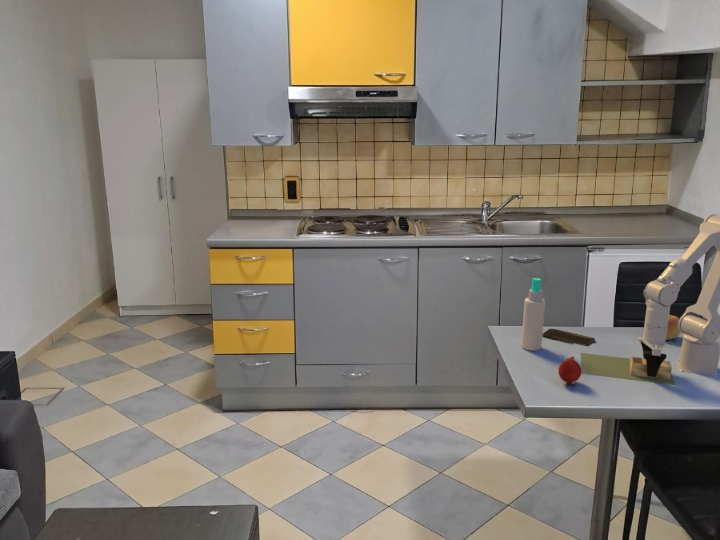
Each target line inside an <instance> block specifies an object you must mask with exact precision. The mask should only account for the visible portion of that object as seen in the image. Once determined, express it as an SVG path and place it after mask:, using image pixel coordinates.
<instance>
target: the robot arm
mask: <svg viewBox="0 0 720 540" xmlns="http://www.w3.org/2000/svg"><path fill="white" fill-rule="evenodd" d="M713 247H715V249H716V251H717V252H716V254H715V257H714V259H713V262H712V264H711V267H710V268H709V272H708V274H707V276H706V279H705V280H704V281H705V282H704V284H703V286H702V289H701V291H700V294H699V295H698V299H697V301H696V303H695V304H693V305H690V306H688V307H686V309H685V311H684V313H683V315H681V316H680V318H679V323H678V328H679V330H680V336H681V337H682V342H681V349H680V356H679V357H680V358H679V360H675V363H676V366H677V368H678V370H679V372H681V373H682V372H683V373H691V374H701V375H707V376H718V367H719V361H720V343H719V341H717V340H718V339H719V337H720V313H719V311H718V310H719V307H720V215H719V214H714V213H712V214H708V215H707V216H706V217H705V218H704V220H703V222H702V223H701V224H700V225H699V233H698V234H697V236H696V237H695V238H694V240H693V241H692V242H691V244H690V246H689V247H688V248H687V249H686V251H685V252H684V253H683V255H682V257H681V258H677V259H674V260H672V261H671V262H670V263H669V265H668V266H667V267H666V268H665V269H664V271H663V272H662V273H661V274H660V275H659V277H657V279H655V280H653V281H652V280H651V281H650V282H648V283H647V284H646V286H645V288H644V290H643V296H644V298H645V306H646V309H645V310H646V311H645V318H644V327H643V334H642V336H638V337H637V341H638V342H640V345H641V348H642V358H644V359H646V366H647V376H651V377H656V375H657V373H658V370H659V368H660V366H661V364H662V362H663V361H666V358H667V353H662V349H663V348H665V346H666V344H667V341H666V334H667V327H668V319H669V315H670V311H671V305H672V304H674V302H676V301H677V299H678V296H679V292H680V290H681V287H682V286H683V284H684V283H685V282H686V281H687V280H688V279H689V278H690V276H691V275H692V274H693V266H694V265H695V264H696V263H697V262H698V261H699V260H700V259H701V258H702V257H703V256H704V255H705V254H706V253H707V252H709V250H710V249H711V248H713Z"/></svg>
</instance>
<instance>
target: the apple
mask: <svg viewBox="0 0 720 540" xmlns="http://www.w3.org/2000/svg"><path fill="white" fill-rule="evenodd" d="M679 320H680V318H679V317H677V316H675V315H672V314H669V319H668V327H667V334H666V340H673V339H675V338H677V337H678V336H679V335H681V332H680V330H679V328H678V323H679Z"/></svg>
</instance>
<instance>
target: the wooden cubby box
mask: <svg viewBox="0 0 720 540" xmlns="http://www.w3.org/2000/svg"><path fill="white" fill-rule="evenodd" d="M630 359H631V360H630V368H629V370H630V374H631V375H636V376H644V377H651V376H647V366H646V359H644V358H643V357H636V356H631V357H630ZM672 369H673V367H672V365H671V362H670V361H667V360H664V361H663V362H662V364H661V366H660V368H659V370H658V373H657V375H656V377H652V378H660V379H668V380H670V377H671V374H672Z"/></svg>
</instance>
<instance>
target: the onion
mask: <svg viewBox="0 0 720 540" xmlns="http://www.w3.org/2000/svg"><path fill="white" fill-rule="evenodd" d="M558 375H559V378H560V379H561V380H562V381H563V382H564V383H566V384H568V385H572V384H573V383H574V382H576V381H578V380H579V379H580V377H581V376H582V370H581V364H579V363H578V361H577V360H576V359H575V356H574V355H571V356H569V357H568V358H566V359H564V360H563V361H562V362H561V363H560V364H559V366H558Z"/></svg>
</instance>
